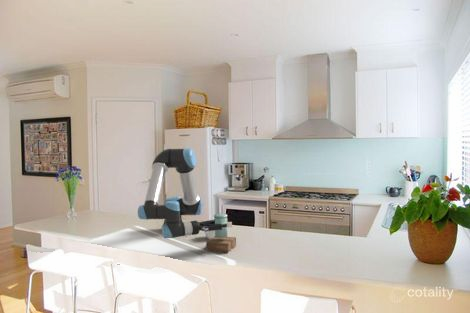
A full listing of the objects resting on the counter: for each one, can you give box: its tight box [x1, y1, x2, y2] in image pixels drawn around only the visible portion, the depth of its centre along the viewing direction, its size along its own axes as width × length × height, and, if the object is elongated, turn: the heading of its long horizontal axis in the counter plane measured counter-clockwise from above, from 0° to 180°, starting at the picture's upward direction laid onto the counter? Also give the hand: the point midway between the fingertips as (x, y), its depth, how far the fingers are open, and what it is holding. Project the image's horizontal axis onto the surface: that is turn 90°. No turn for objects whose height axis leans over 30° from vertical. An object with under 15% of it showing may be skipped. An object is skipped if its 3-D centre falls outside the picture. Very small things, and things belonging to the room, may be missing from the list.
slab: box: [205, 236, 237, 253], centre depth 198 cm, size 13×13×5 cm
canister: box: [213, 213, 228, 238], centre depth 197 cm, size 8×8×12 cm
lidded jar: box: [203, 230, 215, 240], centre depth 218 cm, size 11×11×9 cm
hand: (228, 222), depth 199 cm, fingers closed on canister, 7 cm apart
